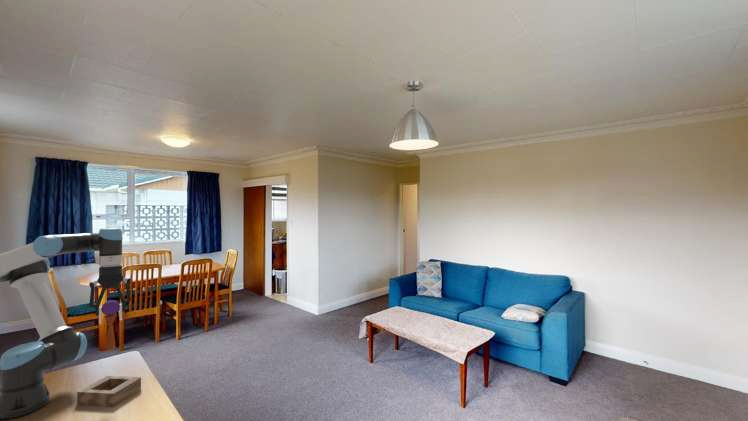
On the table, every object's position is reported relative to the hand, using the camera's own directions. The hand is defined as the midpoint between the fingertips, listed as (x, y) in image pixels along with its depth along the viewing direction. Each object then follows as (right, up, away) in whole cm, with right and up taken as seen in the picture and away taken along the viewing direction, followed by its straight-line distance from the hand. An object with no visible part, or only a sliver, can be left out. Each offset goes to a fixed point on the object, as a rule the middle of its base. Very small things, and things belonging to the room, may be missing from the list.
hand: (110, 321), depth 135 cm
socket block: (0, -31, -1) cm, 31 cm away
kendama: (0, -12, 0) cm, 12 cm away
